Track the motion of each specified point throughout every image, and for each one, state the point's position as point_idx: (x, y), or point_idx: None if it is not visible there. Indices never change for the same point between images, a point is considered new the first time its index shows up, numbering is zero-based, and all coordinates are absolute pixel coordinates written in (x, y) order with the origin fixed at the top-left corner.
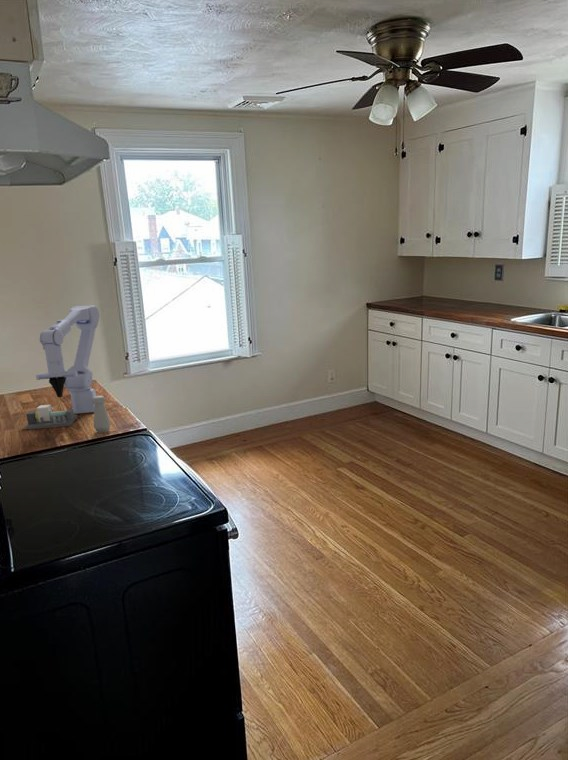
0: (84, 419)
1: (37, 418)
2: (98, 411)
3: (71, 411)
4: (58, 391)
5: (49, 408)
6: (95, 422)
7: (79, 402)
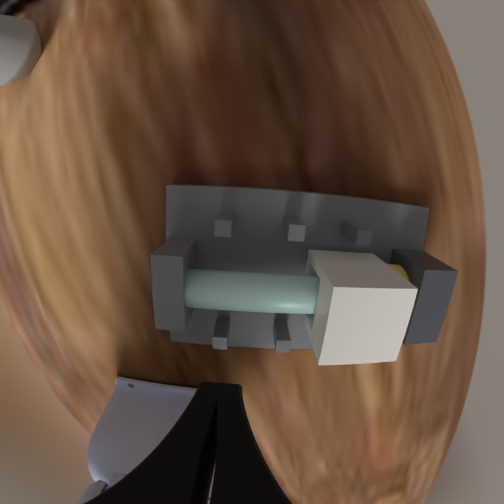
0: (123, 280)
1: (387, 264)
2: None
3: (154, 280)
4: (207, 427)
5: (321, 315)
6: (14, 17)
7: (164, 429)
